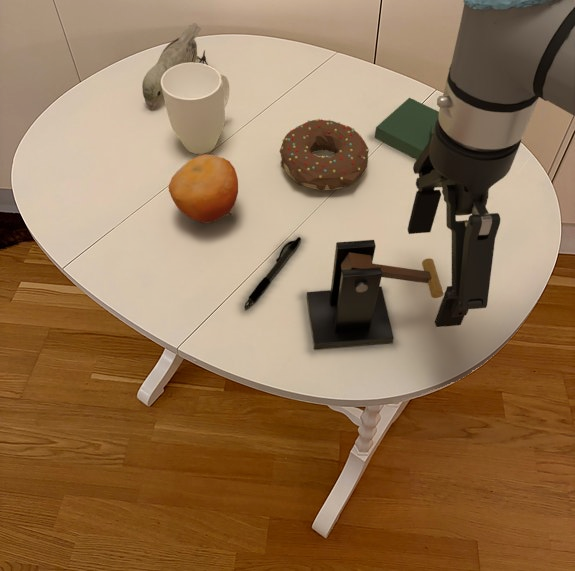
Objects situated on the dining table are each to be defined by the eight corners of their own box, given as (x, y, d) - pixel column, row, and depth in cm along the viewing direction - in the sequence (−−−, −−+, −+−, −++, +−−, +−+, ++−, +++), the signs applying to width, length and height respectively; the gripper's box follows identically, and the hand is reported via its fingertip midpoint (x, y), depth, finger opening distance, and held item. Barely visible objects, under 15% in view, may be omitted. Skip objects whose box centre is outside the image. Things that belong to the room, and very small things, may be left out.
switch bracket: (380, 291, 80) (395, 228, 70) (392, 342, 75) (410, 283, 65) (306, 297, 79) (310, 233, 69) (314, 349, 75) (319, 290, 64)
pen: (293, 237, 86) (293, 232, 85) (303, 242, 85) (303, 237, 84) (238, 306, 78) (237, 301, 78) (249, 312, 78) (248, 307, 77)
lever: (427, 268, 74) (437, 256, 72) (437, 301, 71) (448, 289, 70) (338, 255, 70) (347, 242, 69) (345, 289, 67) (354, 277, 66)
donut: (264, 154, 96) (264, 129, 92) (337, 128, 99) (340, 103, 95) (308, 212, 88) (309, 188, 84) (385, 182, 92) (390, 157, 88)
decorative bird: (136, 105, 102) (127, 67, 96) (187, 57, 111) (182, 19, 105) (163, 115, 101) (155, 77, 95) (212, 65, 109) (209, 27, 103)
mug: (203, 170, 93) (194, 106, 84) (161, 147, 96) (148, 83, 86) (249, 130, 99) (245, 66, 89) (208, 110, 102) (200, 46, 92)
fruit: (194, 250, 85) (170, 203, 77) (179, 208, 90) (156, 160, 83) (257, 225, 85) (239, 176, 78) (238, 184, 91) (221, 135, 83)
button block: (481, 144, 98) (488, 124, 94) (450, 177, 93) (457, 157, 90) (407, 108, 103) (411, 88, 100) (374, 137, 98) (377, 118, 95)
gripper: (406, 48, 59) (379, 200, 76) (478, 236, 45) (426, 372, 62) (479, 44, 60) (437, 196, 77) (575, 229, 45) (496, 366, 62)
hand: (432, 274), depth 69 cm, fingers open, 13 cm apart
